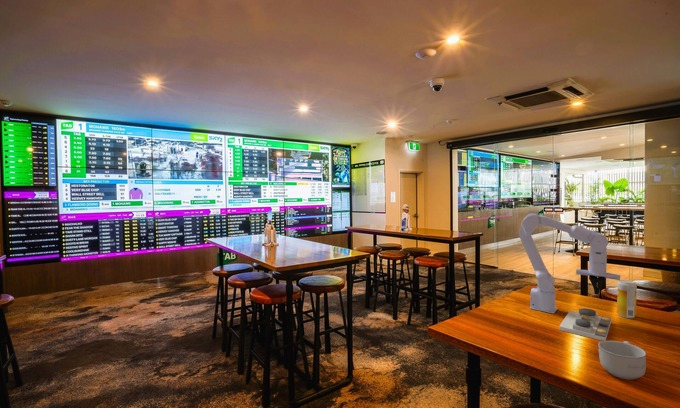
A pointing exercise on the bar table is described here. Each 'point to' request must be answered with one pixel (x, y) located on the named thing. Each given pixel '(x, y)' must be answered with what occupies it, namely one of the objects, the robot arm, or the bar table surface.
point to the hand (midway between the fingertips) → (596, 293)
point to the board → (595, 331)
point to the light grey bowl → (622, 359)
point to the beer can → (626, 299)
